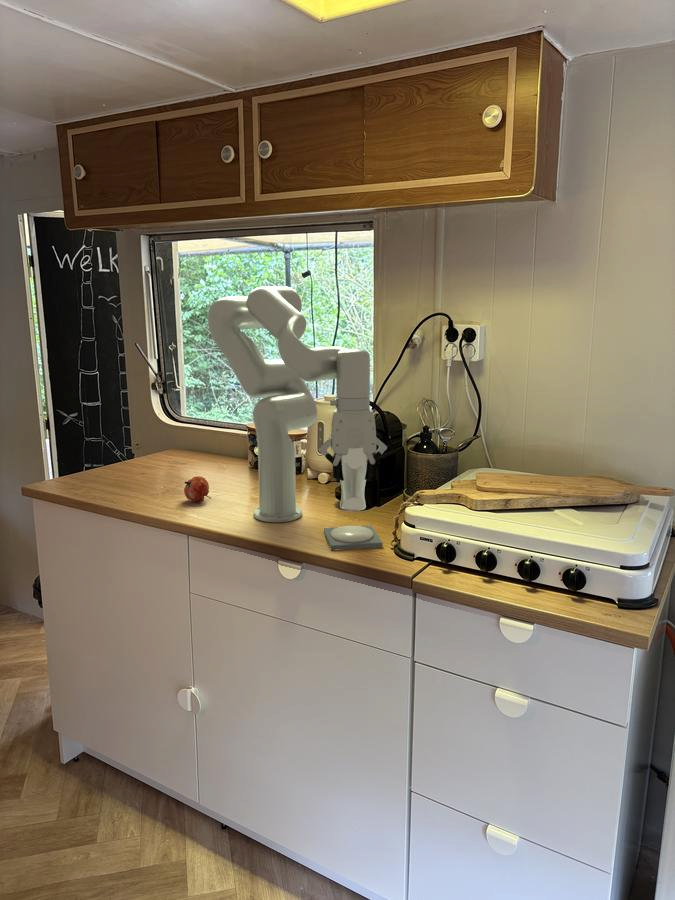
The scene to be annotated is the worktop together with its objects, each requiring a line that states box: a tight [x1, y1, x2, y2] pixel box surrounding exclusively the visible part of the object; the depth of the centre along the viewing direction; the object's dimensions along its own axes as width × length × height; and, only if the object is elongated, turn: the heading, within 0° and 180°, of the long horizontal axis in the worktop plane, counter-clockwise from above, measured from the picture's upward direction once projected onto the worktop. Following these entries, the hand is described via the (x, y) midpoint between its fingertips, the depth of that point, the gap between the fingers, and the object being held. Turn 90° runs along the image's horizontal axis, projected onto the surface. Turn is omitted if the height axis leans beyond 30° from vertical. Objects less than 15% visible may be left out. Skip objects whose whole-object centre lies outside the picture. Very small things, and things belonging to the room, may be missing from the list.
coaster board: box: [323, 525, 383, 551], centre depth 166 cm, size 12×12×2 cm
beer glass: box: [339, 447, 368, 512], centre depth 163 cm, size 7×7×15 cm
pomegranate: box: [183, 476, 212, 504], centre depth 196 cm, size 7×7×10 cm
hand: (353, 479), depth 163 cm, fingers closed on beer glass, 6 cm apart
